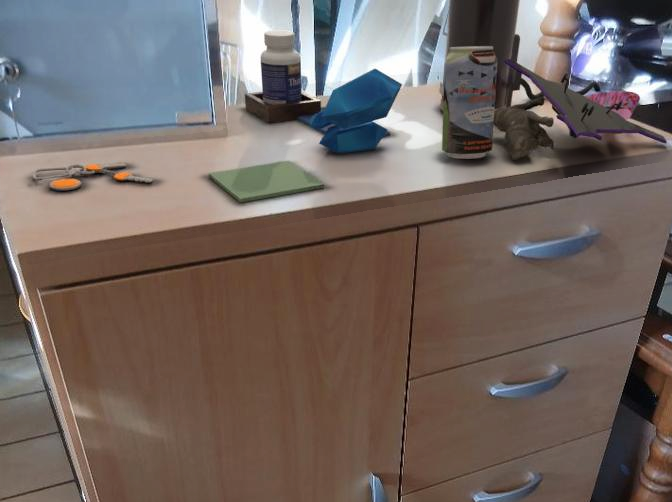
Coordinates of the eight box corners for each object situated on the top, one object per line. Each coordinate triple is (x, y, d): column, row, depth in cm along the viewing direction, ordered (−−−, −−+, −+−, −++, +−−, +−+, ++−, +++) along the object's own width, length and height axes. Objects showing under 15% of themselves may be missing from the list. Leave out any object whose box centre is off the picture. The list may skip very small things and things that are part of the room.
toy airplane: (690, 159, 78) (663, 204, 81) (676, 111, 98) (655, 149, 101) (486, 69, 78) (467, 117, 81) (515, 40, 98) (499, 79, 102)
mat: (288, 164, 88) (288, 160, 87) (324, 187, 82) (324, 184, 81) (208, 176, 84) (208, 173, 83) (240, 202, 78) (239, 198, 78)
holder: (295, 102, 109) (295, 87, 107) (321, 116, 103) (321, 100, 102) (245, 108, 105) (244, 93, 104) (269, 123, 100) (268, 107, 99)
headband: (642, 123, 97) (651, 106, 96) (624, 106, 95) (632, 89, 94) (587, 124, 106) (595, 109, 106) (569, 109, 104) (577, 94, 103)
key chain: (30, 193, 78) (28, 185, 78) (33, 170, 84) (31, 163, 83) (154, 186, 81) (153, 178, 81) (149, 164, 87) (148, 157, 86)
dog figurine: (535, 135, 98) (480, 146, 98) (535, 87, 94) (477, 99, 94) (563, 165, 89) (502, 177, 89) (564, 114, 85) (500, 127, 85)
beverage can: (458, 169, 87) (470, 53, 80) (426, 151, 92) (434, 40, 84) (502, 162, 90) (517, 49, 82) (468, 145, 95) (479, 37, 87)
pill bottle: (296, 119, 102) (293, 37, 96) (258, 116, 103) (253, 35, 96) (306, 109, 106) (304, 30, 100) (270, 106, 107) (265, 28, 100)
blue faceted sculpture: (293, 86, 88) (379, 52, 90) (310, 158, 94) (390, 124, 97) (319, 101, 83) (410, 65, 86) (335, 176, 89) (420, 140, 92)
